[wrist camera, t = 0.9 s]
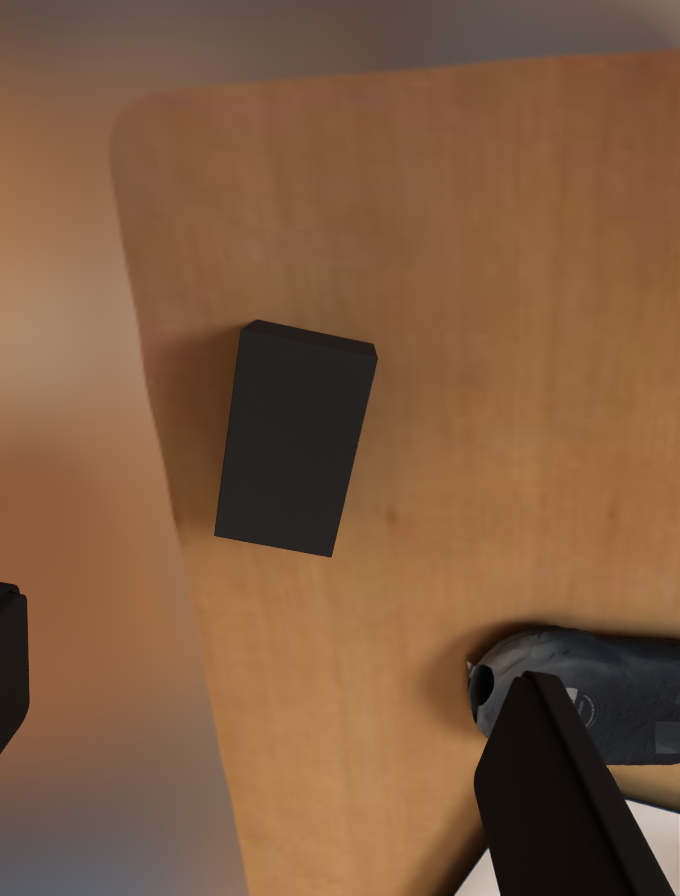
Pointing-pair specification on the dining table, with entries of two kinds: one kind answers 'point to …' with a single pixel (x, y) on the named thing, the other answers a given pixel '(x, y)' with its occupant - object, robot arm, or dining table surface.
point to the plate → (666, 831)
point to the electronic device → (593, 688)
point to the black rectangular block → (292, 436)
